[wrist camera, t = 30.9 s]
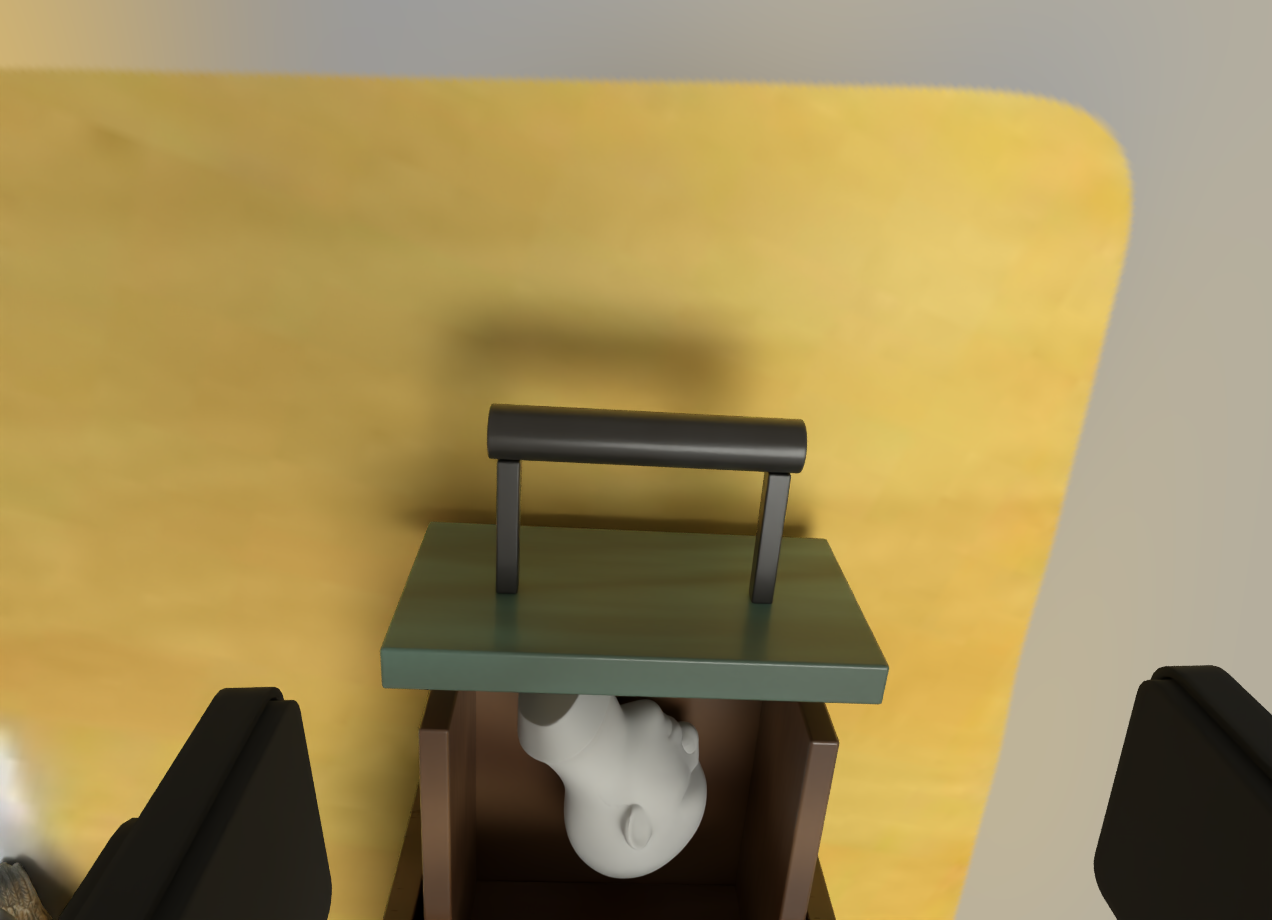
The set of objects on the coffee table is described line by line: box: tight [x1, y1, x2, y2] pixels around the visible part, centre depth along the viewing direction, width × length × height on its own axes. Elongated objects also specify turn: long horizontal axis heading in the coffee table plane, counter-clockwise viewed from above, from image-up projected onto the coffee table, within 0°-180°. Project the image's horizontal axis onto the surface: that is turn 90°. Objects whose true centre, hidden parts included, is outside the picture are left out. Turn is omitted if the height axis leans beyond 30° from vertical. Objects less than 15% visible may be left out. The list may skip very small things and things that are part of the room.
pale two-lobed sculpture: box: [517, 693, 707, 879], centre depth 28 cm, size 4×8×5 cm
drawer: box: [380, 404, 889, 920], centre depth 27 cm, size 20×13×7 cm, turn 176°
